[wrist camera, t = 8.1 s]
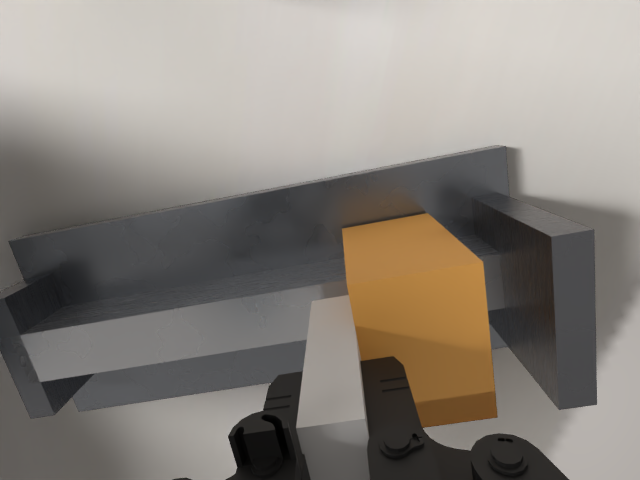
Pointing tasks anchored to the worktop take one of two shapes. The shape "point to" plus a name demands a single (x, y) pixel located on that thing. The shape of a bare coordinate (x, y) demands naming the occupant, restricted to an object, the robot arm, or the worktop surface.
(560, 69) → the worktop surface
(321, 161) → the worktop surface
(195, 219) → the rail
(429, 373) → the orange slider block
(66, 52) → the worktop surface
